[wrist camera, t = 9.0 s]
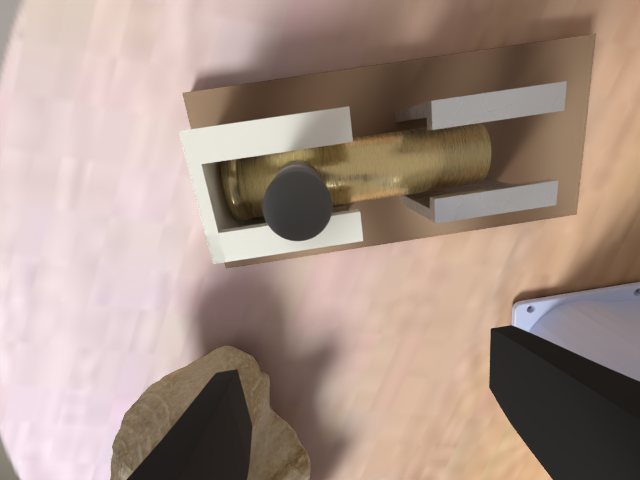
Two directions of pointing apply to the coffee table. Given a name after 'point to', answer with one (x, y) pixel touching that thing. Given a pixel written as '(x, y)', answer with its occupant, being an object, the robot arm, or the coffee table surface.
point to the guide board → (443, 112)
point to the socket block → (254, 140)
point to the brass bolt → (351, 175)
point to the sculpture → (180, 391)
